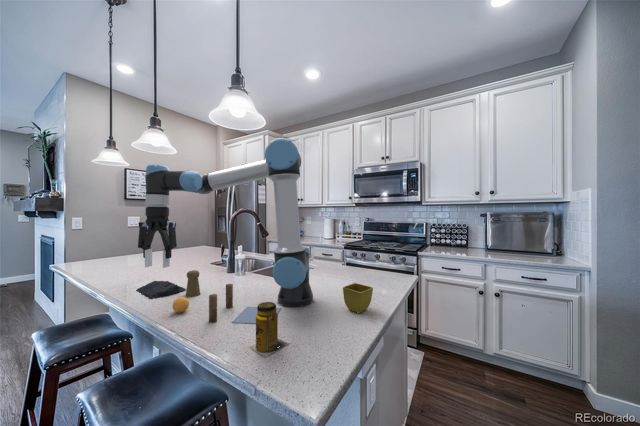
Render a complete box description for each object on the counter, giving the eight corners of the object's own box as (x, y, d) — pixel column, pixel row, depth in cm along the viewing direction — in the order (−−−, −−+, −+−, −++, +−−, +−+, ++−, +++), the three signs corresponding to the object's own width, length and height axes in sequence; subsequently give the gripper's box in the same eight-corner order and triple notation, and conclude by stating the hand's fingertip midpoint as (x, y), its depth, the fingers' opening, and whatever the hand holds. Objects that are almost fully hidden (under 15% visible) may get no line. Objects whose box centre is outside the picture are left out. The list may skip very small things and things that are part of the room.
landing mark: (281, 308, 97) (281, 307, 97) (271, 324, 83) (271, 323, 83) (246, 307, 98) (246, 306, 98) (231, 322, 84) (231, 322, 84)
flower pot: (373, 310, 96) (373, 287, 96) (361, 317, 89) (361, 292, 89) (354, 304, 102) (355, 282, 102) (341, 310, 95) (342, 287, 95)
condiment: (249, 347, 69) (249, 305, 69) (273, 336, 75) (273, 297, 75) (265, 357, 64) (265, 312, 64) (289, 344, 71) (289, 302, 71)
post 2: (233, 306, 99) (233, 283, 99) (230, 308, 96) (231, 285, 96) (227, 305, 99) (227, 283, 99) (224, 308, 97) (224, 285, 97)
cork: (194, 297, 109) (194, 272, 109) (182, 296, 110) (182, 271, 110) (203, 293, 115) (203, 269, 115) (191, 292, 116) (192, 268, 116)
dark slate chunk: (167, 284, 130) (168, 275, 130) (188, 292, 117) (188, 282, 117) (133, 291, 118) (133, 281, 118) (151, 301, 105) (151, 290, 105)
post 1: (218, 319, 86) (218, 294, 86) (214, 322, 84) (214, 296, 84) (211, 319, 87) (211, 293, 87) (207, 322, 84) (207, 296, 84)
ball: (192, 309, 95) (192, 295, 95) (183, 315, 90) (183, 300, 90) (178, 308, 96) (178, 294, 96) (168, 314, 90) (169, 299, 90)
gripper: (187, 206, 96) (187, 265, 96) (141, 206, 98) (141, 264, 98) (175, 206, 89) (174, 269, 89) (125, 205, 90) (124, 268, 91)
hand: (157, 266), depth 93 cm, fingers open, 6 cm apart
